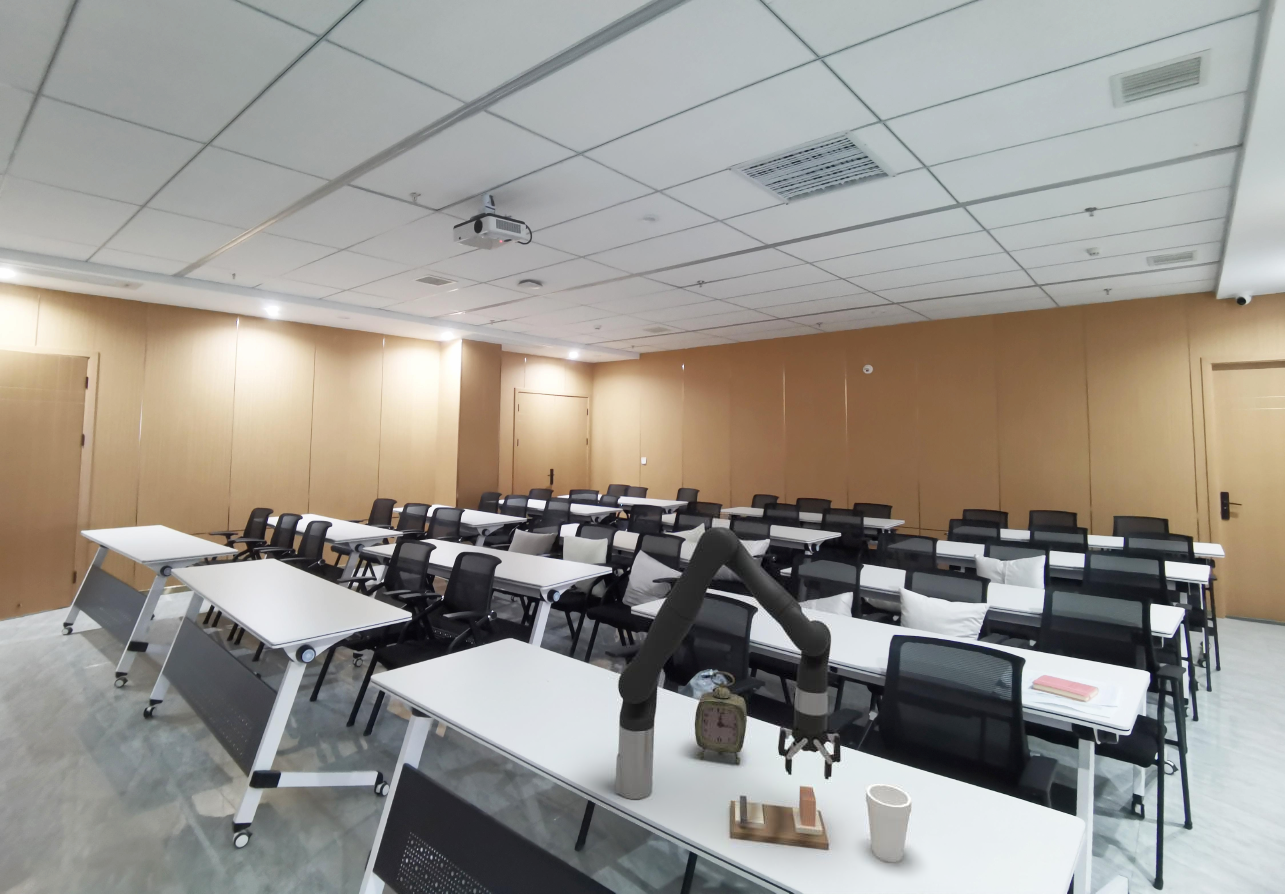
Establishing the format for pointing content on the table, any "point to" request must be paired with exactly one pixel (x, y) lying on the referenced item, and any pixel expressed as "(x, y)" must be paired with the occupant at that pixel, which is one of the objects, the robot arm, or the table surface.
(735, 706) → the tabletop clock
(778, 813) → the stand
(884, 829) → the foam cup
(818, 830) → the stub
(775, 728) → the table surface
